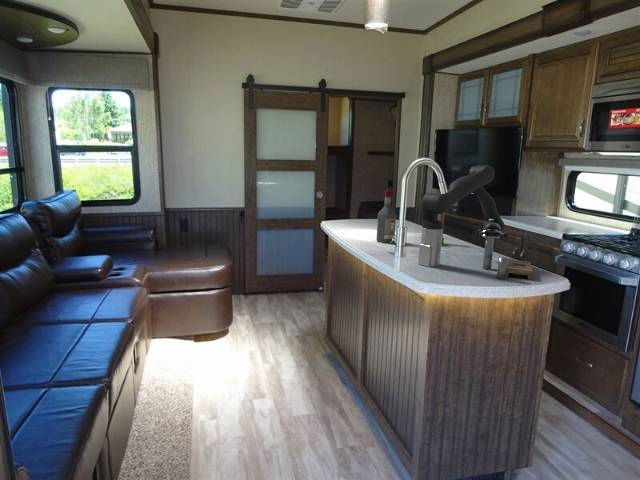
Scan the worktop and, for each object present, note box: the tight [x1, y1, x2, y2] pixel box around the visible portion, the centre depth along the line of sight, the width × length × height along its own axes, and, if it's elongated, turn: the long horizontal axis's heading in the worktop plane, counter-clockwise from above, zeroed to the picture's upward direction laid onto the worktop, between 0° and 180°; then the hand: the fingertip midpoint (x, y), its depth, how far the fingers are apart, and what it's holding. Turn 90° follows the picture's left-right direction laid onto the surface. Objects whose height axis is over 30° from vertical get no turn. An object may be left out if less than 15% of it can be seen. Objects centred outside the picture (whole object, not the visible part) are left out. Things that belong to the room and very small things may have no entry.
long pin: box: [482, 236, 495, 271], centre depth 202 cm, size 4×4×15 cm
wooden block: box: [437, 212, 446, 245], centre depth 258 cm, size 4×11×18 cm, turn 113°
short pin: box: [496, 256, 509, 281], centre depth 187 cm, size 4×4×9 cm
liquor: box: [376, 189, 397, 244], centre depth 258 cm, size 9×9×30 cm
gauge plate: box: [506, 259, 533, 281], centre depth 197 cm, size 18×10×4 cm, turn 157°
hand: (491, 236), depth 211 cm, fingers open, 8 cm apart
